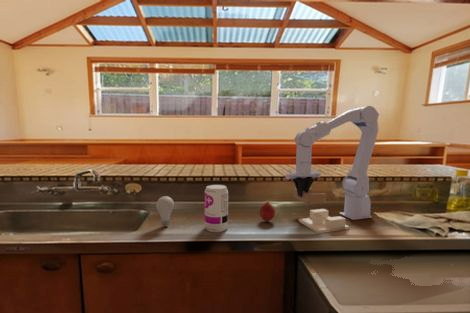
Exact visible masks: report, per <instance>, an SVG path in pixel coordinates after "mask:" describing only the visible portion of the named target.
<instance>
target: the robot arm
mask: <svg viewBox="0 0 470 313" xmlns="http://www.w3.org/2000/svg"><path fill="white" fill-rule="evenodd" d="M379 115H380V114H379V112H378V111H377V109H376V108H375V107H374V106H372V105H368V106H367V105H366V106H362V107H354V108H352V109H349V110H346V111H344V112H343V113H340V114H339V115H337V116H336V117H334V118H332V119H330V120H329V121H327V122H326V121H322V120H321V121H320V120H319V121H317V122H316V123H315V124H314V125H313V126H309V127H306V128H305V130H304V131H303V130H301V131H299V132H297V133H296V135H295V137H294V138H293V139H294V140H293V141H294V143H295V144H296V151H295V152H296V154H295V155H296V156H295V158H296V160H295V171H294V172H289V173H287V172H285V179H287V180H292V182H293V183H294V186H295V189H297V193H298V196H300V197H302V195H303V191H305V192H307V193H308V191H309V188H311V186H312V184H313V183H314V179H315V178H321V172H319V171H312V152H313V151H312V149H313V148H312V147H313V145H314V144H315V142H317V141H318V140H321V139H322V138H323V139H324V137H326V136H328V135H330V133H331V131H332V130H333V129H335V128H338V127H340V126H342V125H344V124H346V123H349V122H351V123H352V124H353V125H355V126H356V127H357V128H358V129H359V130H360V132H361V134H360V139H359V142H358V145H357V146H358V147H357V150H356V152H355V156H354V161H353V164H352V168H351V170H350V171H348V172H347V173H346V176H345V178H344V179H343V180H342V183H341V185H342V188H343V190H344V208H343V212H342V211H339V214H340V215H341V216H342V217H343V216H344V217H346V218H348V219H351V220H354V221H355V220H362V219H363V220H364V219H369V218H372V216H371V204H372V202H371V198H370V196H369V195H367V194H368V193H369V191H370V184H369V183H370V177H369V175H368V173H367V172H368V168H369V164H370V161H371V158H372V155H373V151H374V148H375V144H376V141H377V136H378V133H379V122H378V119H379Z"/></svg>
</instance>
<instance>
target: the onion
mask: <svg viewBox="0 0 470 313" xmlns="http://www.w3.org/2000/svg"><path fill="white" fill-rule="evenodd" d="M275 212H276V210H275V208H274V206H273V205H272V204H270V201H268V200H266V201H265V203H264V204H262V205H261V207H260V208H259V212H258V213H259V216H260V218H261V219H262V220H263V221H264V222H266V223H269V222H270V221H271V220H272V219H273V218H274V217H275V215H276V213H275Z"/></svg>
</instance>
